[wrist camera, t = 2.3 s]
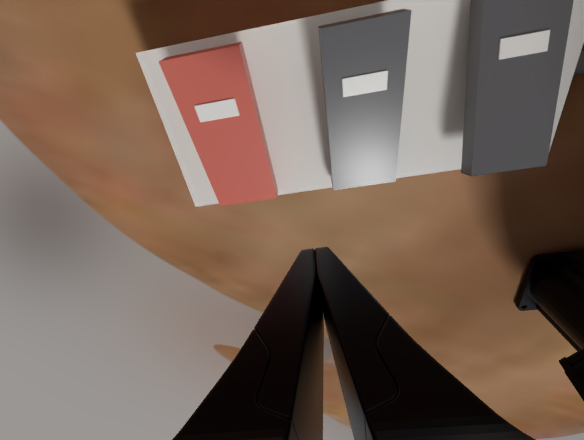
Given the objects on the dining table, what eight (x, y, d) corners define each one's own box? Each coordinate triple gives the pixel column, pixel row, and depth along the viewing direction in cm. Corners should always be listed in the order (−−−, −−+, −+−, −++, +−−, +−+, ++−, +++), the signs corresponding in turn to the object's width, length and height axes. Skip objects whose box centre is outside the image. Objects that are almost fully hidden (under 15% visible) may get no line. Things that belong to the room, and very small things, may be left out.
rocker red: (277, 188, 17) (277, 199, 16) (223, 196, 18) (220, 206, 17) (242, 41, 12) (238, 45, 11) (166, 57, 13) (157, 61, 12)
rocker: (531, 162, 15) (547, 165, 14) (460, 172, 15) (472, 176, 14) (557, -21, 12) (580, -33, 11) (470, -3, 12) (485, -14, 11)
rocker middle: (390, 172, 17) (395, 182, 16) (331, 181, 17) (333, 190, 16) (403, 8, 11) (412, 10, 11) (317, 25, 12) (319, 28, 11)
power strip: (603, 129, 18) (653, 141, 16) (208, 188, 21) (195, 206, 18) (676, -53, 14) (764, -79, 11) (161, 53, 17) (135, 52, 14)
